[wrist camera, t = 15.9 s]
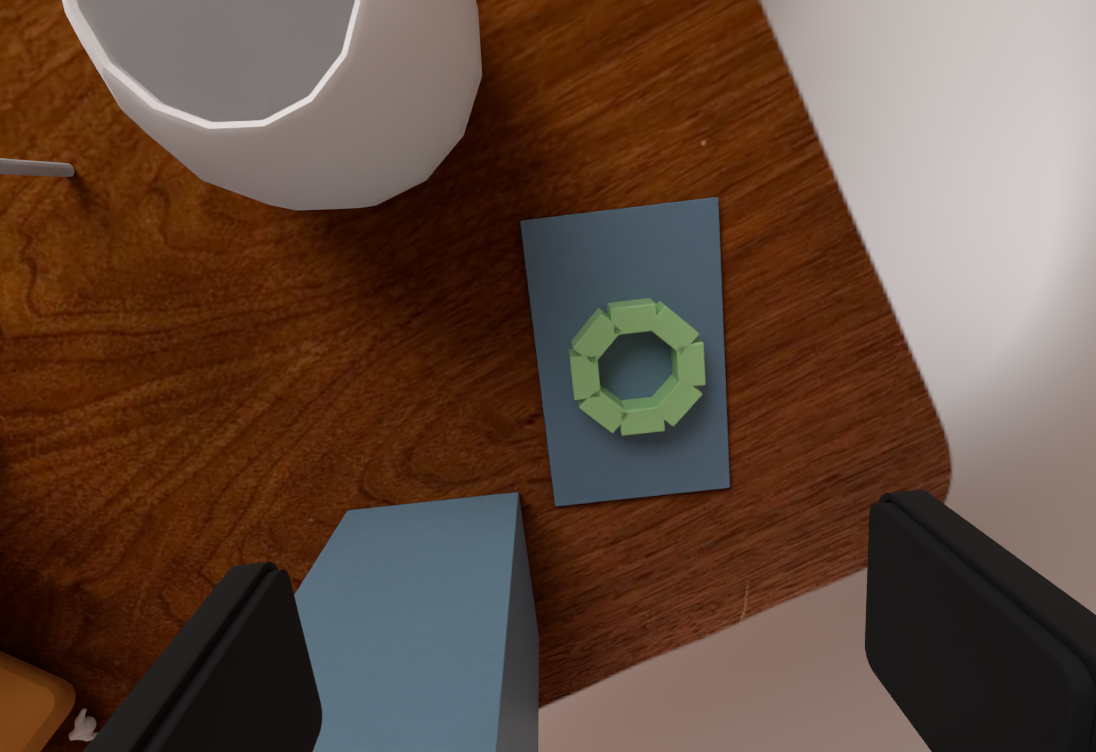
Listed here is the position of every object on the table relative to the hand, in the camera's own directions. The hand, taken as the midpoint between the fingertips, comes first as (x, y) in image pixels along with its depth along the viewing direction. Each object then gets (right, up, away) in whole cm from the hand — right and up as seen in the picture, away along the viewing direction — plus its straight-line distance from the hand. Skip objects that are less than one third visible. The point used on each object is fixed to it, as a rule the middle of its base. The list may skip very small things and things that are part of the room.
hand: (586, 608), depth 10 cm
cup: (-10, +19, +20) cm, 29 cm away
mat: (+4, +5, +24) cm, 25 cm away
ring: (+4, +4, +24) cm, 24 cm away
